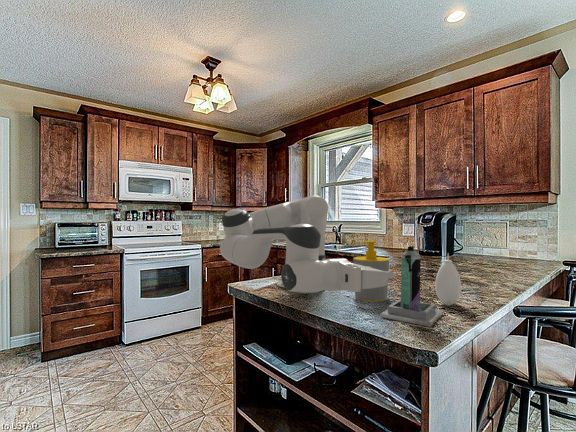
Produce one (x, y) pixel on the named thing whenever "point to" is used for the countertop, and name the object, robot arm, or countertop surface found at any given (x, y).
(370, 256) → the soap bottle
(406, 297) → the spray can
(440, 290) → the white bulb air blower
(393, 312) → the socket block
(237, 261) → the robot arm
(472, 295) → the countertop surface
